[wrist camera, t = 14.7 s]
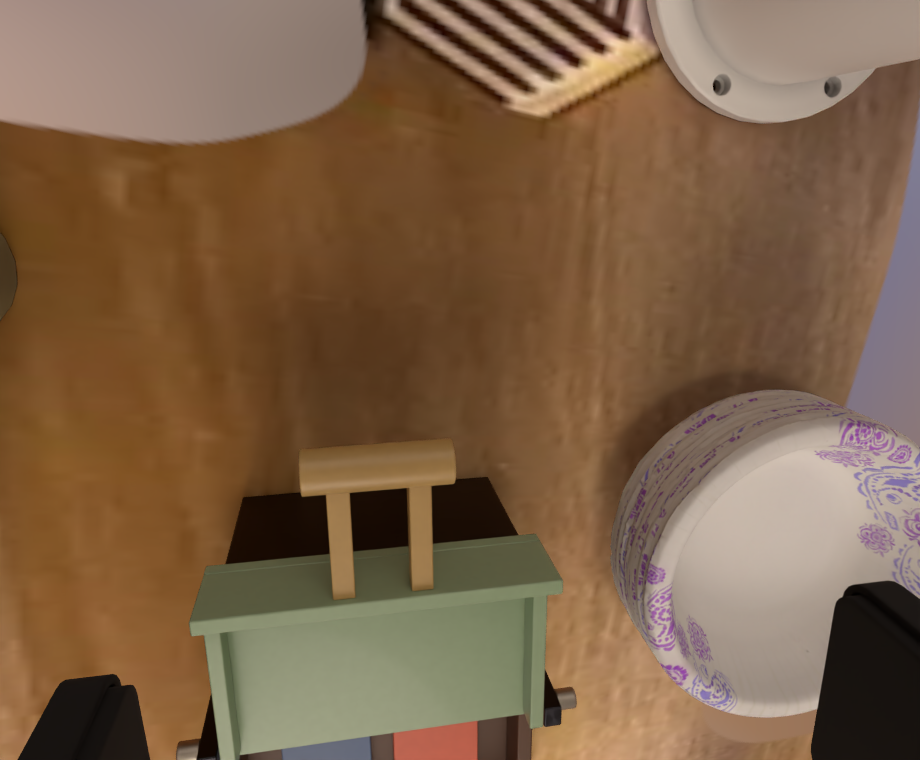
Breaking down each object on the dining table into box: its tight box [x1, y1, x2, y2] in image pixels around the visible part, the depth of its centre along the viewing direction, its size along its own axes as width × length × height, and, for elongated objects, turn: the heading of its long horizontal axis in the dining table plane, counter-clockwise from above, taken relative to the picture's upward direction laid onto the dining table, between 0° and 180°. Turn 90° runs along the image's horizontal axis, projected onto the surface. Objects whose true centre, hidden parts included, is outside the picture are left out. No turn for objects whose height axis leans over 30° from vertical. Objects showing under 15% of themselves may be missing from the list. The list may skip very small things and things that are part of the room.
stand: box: [176, 477, 577, 760], centre depth 32 cm, size 17×9×8 cm, turn 91°
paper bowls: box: [610, 390, 920, 718], centre depth 34 cm, size 15×15×8 cm
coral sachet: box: [392, 721, 478, 760], centre depth 38 cm, size 5×6×1 cm
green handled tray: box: [189, 438, 563, 760], centre depth 27 cm, size 13×14×4 cm
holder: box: [239, 714, 532, 760], centre depth 37 cm, size 16×12×3 cm
